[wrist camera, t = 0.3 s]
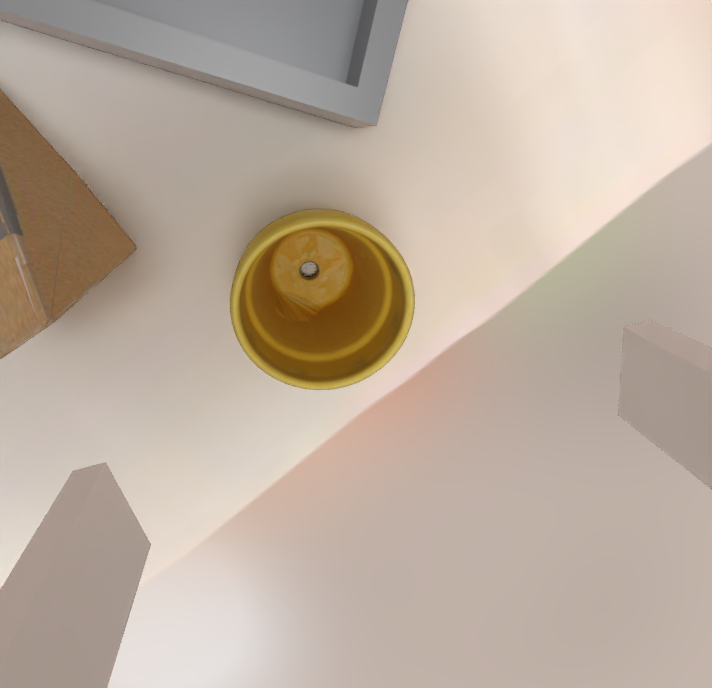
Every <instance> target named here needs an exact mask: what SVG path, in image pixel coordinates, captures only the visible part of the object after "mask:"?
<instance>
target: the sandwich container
mask: <svg viewBox="0 0 712 688" xmlns="http://www.w3.org/2000/svg"><path fill="white" fill-rule="evenodd" d="M135 250H136V246H135V244H134V243H133V242H132V240H131V239H130V238H129V237H128V235H127V234H126V233H125V232H124V231H123V229H122V228H121V227H120V226H119V225H118V223H117V222H116V221H115V220H114V219H113V217H112V216H111V215H110V214H109V213H108V211H107V210H106V209H105V208H104V207H103V205H102V204H101V203H100V202H99V201H98V199H97V198H96V197H95V196H94V195H93V193H92V192H91V191H90V190H89V189H88V187H87V186H86V185H85V184H84V182H83V181H82V180H81V179H80V178H79V176H78V175H77V174H76V173H75V172H74V170H73V169H72V168H71V167H70V166H69V165H68V164H67V163H66V161H65V160H64V159H63V158H62V157H61V156H60V155H59V154H58V153H57V152H56V150H55V149H54V148H53V147H52V146H51V145H50V144H49V143H48V142H47V140H46V139H45V138H44V137H43V136H42V135H41V134H40V133H39V132H38V131H37V129H36V128H35V127H34V126H33V125H32V124H31V123H30V122H29V121H28V120H27V118H26V117H25V116H24V115H23V114H22V113H21V112H20V111H19V110H18V108H17V107H16V106H15V105H14V104H13V103H12V102H11V101H10V100H9V99H8V97H7V96H6V95H5V94H4V93H3V92H2V91H1V90H0V359H2V358H3V357H5V356H6V355H7V354H9V353H10V352H12V351H13V350H15V349H16V348H18V347H19V346H20V345H22V344H23V343H25V342H26V341H28V340H29V339H31V338H32V337H34V336H35V335H36V334H38V333H39V332H41V331H42V330H44V329H45V328H47V327H48V326H49V325H51V324H52V323H54V322H55V321H56V320H57V319H58V318H60V317H61V316H62V315H63V314H64V313H65V312H66V311H67V310H69V309H70V308H71V307H72V306H73V305H74V304H75V303H76V302H78V301H79V300H80V299H81V298H82V297H83V296H84V295H86V294H87V293H88V292H89V291H90V290H91V289H92V288H93V287H95V286H96V285H97V284H98V283H99V282H100V281H101V280H102V279H104V278H105V277H106V276H107V275H108V274H109V273H110V272H111V271H113V270H114V269H115V268H116V267H117V266H118V265H119V264H120V263H122V262H123V261H124V260H125V259H126V258H127V257H128V256H129V255H130V254H132V253H133V252H134V251H135Z"/></svg>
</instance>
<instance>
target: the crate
mask: <svg viewBox="0 0 712 688" xmlns="http://www.w3.org/2000/svg"><path fill="white" fill-rule="evenodd" d="M407 1H408V0H0V20H1V21H5V22H8V23H11V24H15V25H18V26H21V27H24V28H28V29H31V30H34V31H38V32H41V33H44V34H48V35H51V36H54V37H58V38H61V39H64V40H67V41H71V42H74V43H77V44H81V45H84V46H87V47H91V48H94V49H97V50H101V51H104V52H107V53H110V54H114V55H117V56H120V57H124V58H127V59H130V60H134V61H137V62H140V63H143V64H147V65H150V66H153V67H157V68H160V69H163V70H167V71H170V72H173V73H177V74H180V75H183V76H186V77H190V78H193V79H196V80H200V81H203V82H206V83H210V84H213V85H216V86H220V87H223V88H226V89H229V90H233V91H236V92H239V93H243V94H246V95H249V96H253V97H256V98H259V99H263V100H266V101H269V102H272V103H276V104H279V105H282V106H286V107H289V108H292V109H296V110H299V111H302V112H306V113H309V114H312V115H315V116H319V117H322V118H325V119H329V120H332V121H335V122H339V123H342V124H345V125H349V126H352V127H355V128H360V127H368V126H376V125H377V121H378V117H379V113H380V109H381V105H382V101H383V97H384V93H385V89H386V85H387V81H388V77H389V73H390V69H391V65H392V61H393V57H394V53H395V49H396V45H397V41H398V37H399V33H400V29H401V25H402V21H403V17H404V13H405V9H406V5H407Z"/></svg>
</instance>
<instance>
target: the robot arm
mask: <svg viewBox="0 0 712 688" xmlns="http://www.w3.org/2000/svg"><path fill="white" fill-rule="evenodd" d="M618 409H619V410H618V416H619V417H621V418H622V419H623V420H624V421H626V422H627V423H628V424H630V425H631V426H632V427H633V428H635V429H636V430H637V431H639V432H640V433H641V434H642V435H643V436H645V437H646V438H647V439H649V440H650V441H651V442H652V443H654V444H655V445H656V446H657V447H659V448H660V449H661V450H662V451H664V452H665V453H666V454H668V455H669V456H670V457H672V458H673V459H674V460H675V461H676V462H678V463H679V464H680V465H681V466H683V467H684V468H685V469H686V470H688V471H689V472H690V473H692V474H693V475H694V476H696V477H697V478H698V479H699V480H701V481H702V482H703V483H704V484H705V485H707V486H708V487H709V488H711V489H712V348H711V347H709V346H706V345H704V344H702V343H700V342H698V341H696V340H693V339H691V338H689V337H687V336H685V335H683V334H681V333H679V332H676V331H674V330H672V329H670V328H668V327H666V326H664V325H662V324H659V323H657V322H655V321H653V320H647V321H643V322H640V323H636V324H632V325H628V326H624V327H623V338H622V356H621V373H620V393H619V408H618ZM150 545H151V544H150V542H149V540H148V538H147V536H146V535H145V533H144V531H143V529H142V527H141V526H140V524H139V522H138V520H137V518H136V517H135V515H134V513H133V511H132V509H131V507H130V506H129V504H128V502H127V500H126V498H125V497H124V495H123V493H122V491H121V489H120V488H119V486H118V484H117V482H116V480H115V478H114V477H113V475H112V473H111V471H110V469H109V468H108V466H107V464H106V463H102V464H98V465H94V466H90V467H87V468H83V469H79V470H75V471H73V472H72V473H71V475H70V477H69V478H68V480H67V482H66V483H65V485H64V486H63V488H62V490H61V491H60V493H59V495H58V496H57V498H56V500H55V501H54V503H53V504H52V506H51V508H50V509H49V511H48V513H47V514H46V516H45V518H44V519H43V521H42V522H41V524H40V526H39V527H38V529H37V531H36V532H35V534H34V536H33V537H32V539H31V540H30V542H29V544H28V545H27V547H26V549H25V550H24V552H23V554H22V555H21V557H20V559H19V560H18V562H17V563H16V565H15V567H14V568H13V570H12V572H11V573H10V575H9V577H8V578H7V580H6V581H5V583H4V585H3V586H2V588H1V590H0V688H107V686H108V683H109V680H110V676H111V673H112V670H113V666H114V663H115V660H116V657H117V653H118V650H119V647H120V643H121V640H122V637H123V634H124V631H125V627H126V624H127V621H128V617H129V614H130V611H131V608H132V604H133V601H134V598H135V595H136V591H137V588H138V585H139V581H140V578H141V575H142V572H143V568H144V565H145V562H146V559H147V555H148V552H149V549H150Z"/></svg>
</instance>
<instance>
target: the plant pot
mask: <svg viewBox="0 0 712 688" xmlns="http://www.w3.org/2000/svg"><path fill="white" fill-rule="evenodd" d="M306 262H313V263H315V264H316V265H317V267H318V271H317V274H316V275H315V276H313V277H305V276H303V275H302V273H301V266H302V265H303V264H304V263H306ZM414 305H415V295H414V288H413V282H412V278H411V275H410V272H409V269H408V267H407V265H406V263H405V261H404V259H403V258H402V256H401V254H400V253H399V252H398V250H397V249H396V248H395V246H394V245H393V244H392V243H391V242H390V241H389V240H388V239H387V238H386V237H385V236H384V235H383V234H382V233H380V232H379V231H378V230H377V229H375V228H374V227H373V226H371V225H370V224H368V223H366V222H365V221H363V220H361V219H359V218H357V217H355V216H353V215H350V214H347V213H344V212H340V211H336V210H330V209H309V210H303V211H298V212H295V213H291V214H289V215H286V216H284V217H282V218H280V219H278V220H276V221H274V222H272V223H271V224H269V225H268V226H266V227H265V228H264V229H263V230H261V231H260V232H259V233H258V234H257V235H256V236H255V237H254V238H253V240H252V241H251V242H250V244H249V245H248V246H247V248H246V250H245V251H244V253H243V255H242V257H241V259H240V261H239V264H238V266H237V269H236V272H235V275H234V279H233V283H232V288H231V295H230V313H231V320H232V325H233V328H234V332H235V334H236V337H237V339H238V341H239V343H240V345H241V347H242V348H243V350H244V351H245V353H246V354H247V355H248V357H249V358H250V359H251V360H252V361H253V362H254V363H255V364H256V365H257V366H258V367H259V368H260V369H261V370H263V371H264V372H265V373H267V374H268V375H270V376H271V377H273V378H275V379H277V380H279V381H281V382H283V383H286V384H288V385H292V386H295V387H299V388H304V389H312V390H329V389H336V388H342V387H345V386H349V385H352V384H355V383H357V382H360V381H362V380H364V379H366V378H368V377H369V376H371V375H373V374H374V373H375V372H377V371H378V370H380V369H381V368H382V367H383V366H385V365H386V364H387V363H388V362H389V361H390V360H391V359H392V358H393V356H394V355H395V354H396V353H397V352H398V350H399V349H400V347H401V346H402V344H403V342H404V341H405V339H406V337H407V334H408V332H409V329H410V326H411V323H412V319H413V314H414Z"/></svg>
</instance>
